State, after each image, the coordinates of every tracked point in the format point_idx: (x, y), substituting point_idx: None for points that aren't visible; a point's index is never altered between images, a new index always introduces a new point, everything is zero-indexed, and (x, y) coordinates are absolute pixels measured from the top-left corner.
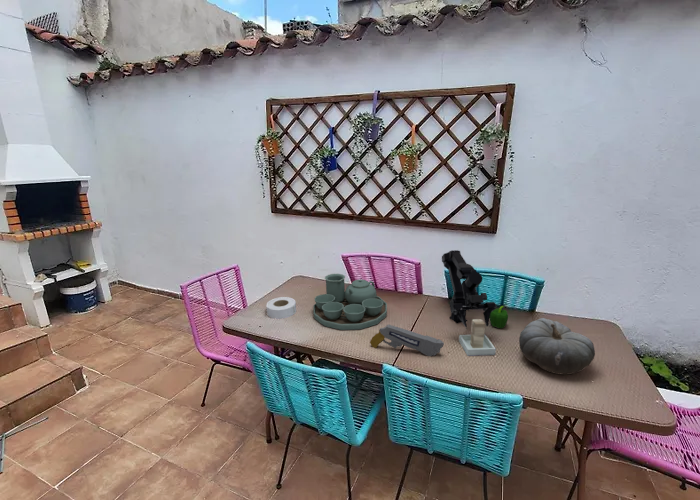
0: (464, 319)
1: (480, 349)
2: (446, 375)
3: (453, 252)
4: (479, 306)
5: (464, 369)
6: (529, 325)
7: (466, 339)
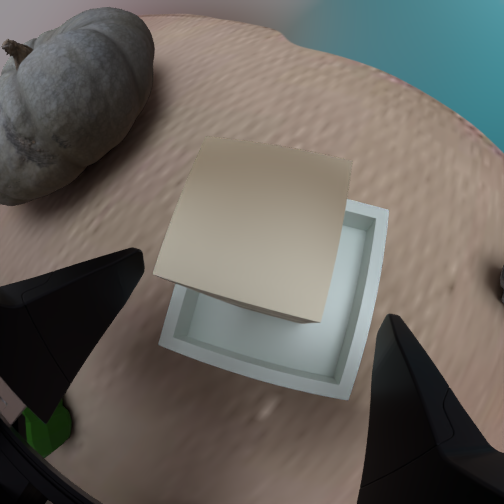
0: (427, 376)
1: None
2: (485, 148)
3: None
4: (3, 470)
5: (425, 147)
6: (11, 97)
7: (298, 371)
